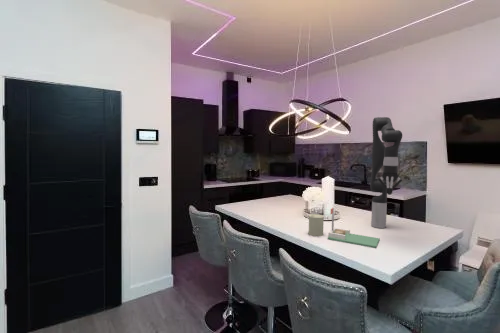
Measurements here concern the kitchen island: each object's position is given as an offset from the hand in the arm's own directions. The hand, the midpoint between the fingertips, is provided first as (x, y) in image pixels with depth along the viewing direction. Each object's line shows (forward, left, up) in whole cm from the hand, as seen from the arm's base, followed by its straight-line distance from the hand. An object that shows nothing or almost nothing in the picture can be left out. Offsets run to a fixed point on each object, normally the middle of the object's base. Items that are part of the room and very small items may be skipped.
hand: (389, 194), depth 155 cm
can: (+13, -39, -27) cm, 49 cm away
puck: (+11, -25, -26) cm, 37 cm away
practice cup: (+11, -25, -26) cm, 37 cm away
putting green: (+11, -17, -27) cm, 34 cm away
